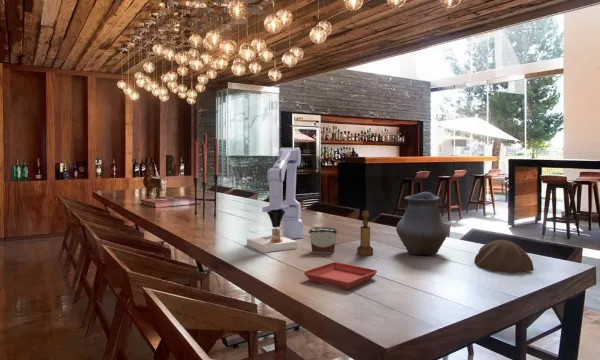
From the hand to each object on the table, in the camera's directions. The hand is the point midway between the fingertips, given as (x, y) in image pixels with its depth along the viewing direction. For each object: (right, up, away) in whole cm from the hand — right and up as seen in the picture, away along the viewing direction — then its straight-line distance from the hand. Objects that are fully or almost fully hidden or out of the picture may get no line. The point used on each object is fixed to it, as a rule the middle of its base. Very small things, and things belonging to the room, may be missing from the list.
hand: (276, 227), depth 186 cm
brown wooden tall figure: (+37, -10, -9) cm, 40 cm away
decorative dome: (+85, -12, -28) cm, 91 cm away
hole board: (-2, -9, +4) cm, 10 cm away
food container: (+20, -10, -4) cm, 23 cm away
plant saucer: (+24, -13, -45) cm, 53 cm away
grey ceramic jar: (+61, -10, -8) cm, 62 cm away
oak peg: (0, -9, +1) cm, 9 cm away
